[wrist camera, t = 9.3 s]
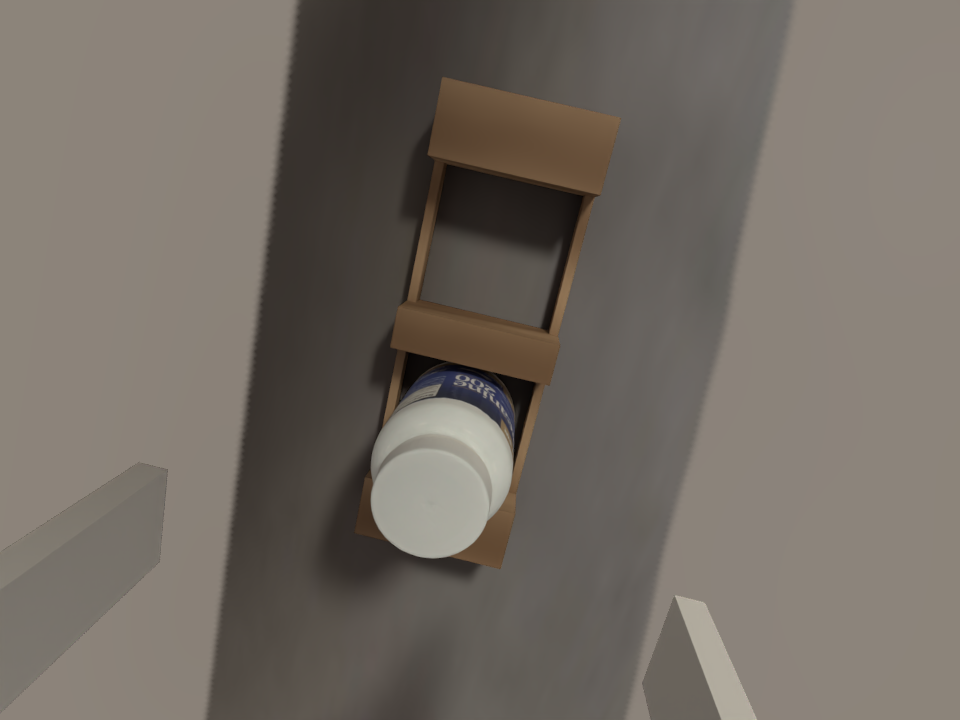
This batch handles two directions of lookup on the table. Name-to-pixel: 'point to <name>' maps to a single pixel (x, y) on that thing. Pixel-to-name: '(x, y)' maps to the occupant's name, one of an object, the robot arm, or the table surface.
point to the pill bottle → (443, 461)
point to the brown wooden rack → (475, 337)
